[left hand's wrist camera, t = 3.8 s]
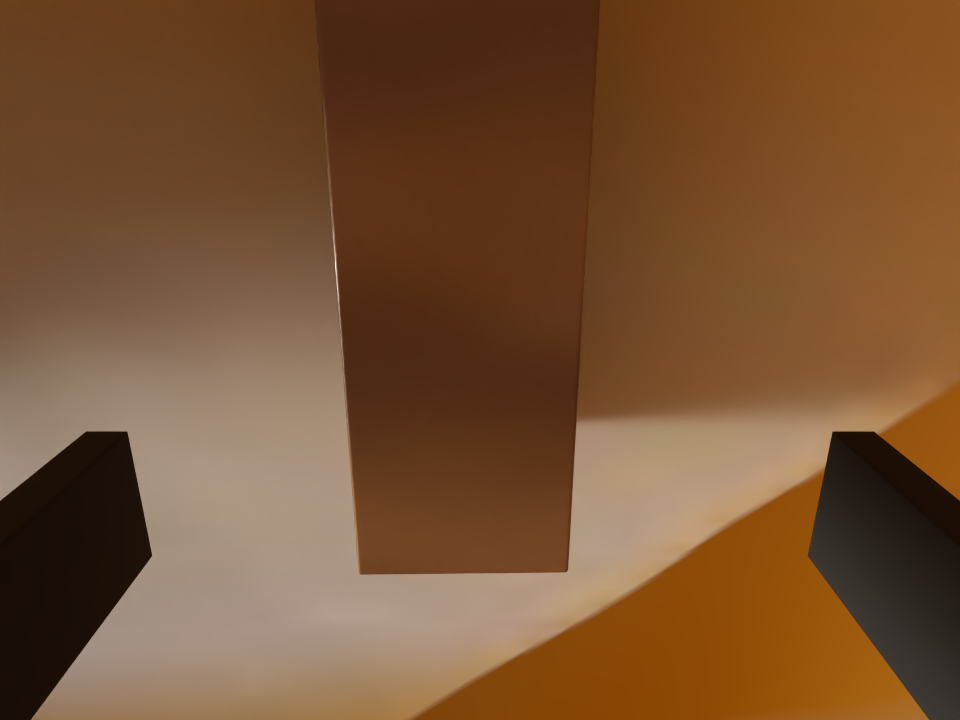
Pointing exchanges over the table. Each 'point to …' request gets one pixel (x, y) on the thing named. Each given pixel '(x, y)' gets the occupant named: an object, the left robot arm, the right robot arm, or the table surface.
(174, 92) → the table surface
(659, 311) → the table surface
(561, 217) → the bar
